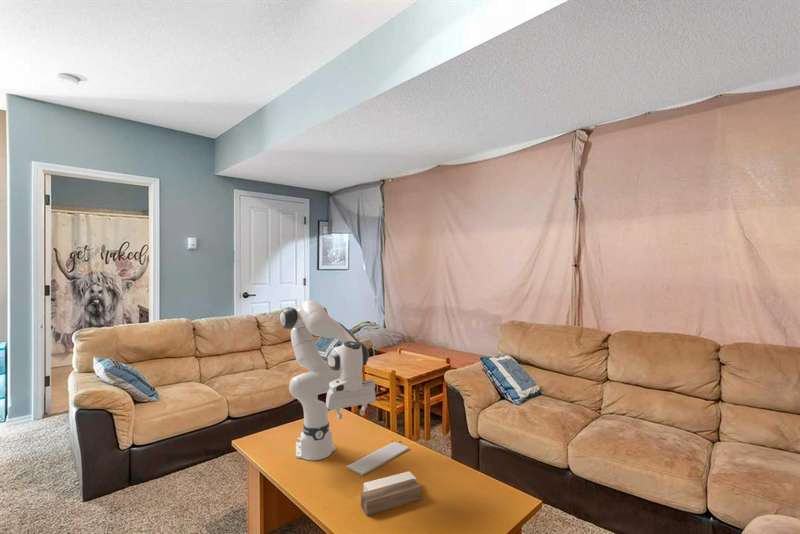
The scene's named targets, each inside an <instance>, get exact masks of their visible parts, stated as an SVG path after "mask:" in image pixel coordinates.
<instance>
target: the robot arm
mask: <svg viewBox="0 0 800 534" xmlns="http://www.w3.org/2000/svg"><path fill="white" fill-rule="evenodd" d="M279 322H280V325H281V326H282V327H283V328H284V329H286V330H290V341H291V345H292V350H293V353H294V356H295V361H296V363H297V364H298V366H299V367H302V368H304V369H306V370H308V372H303V373H302V372H301V373H300V374H298V375H295V376H293V377H292V378H291V379H290V382H289V385H288V390H289V393H290V395H291V396H292V397H293V398H295V399H297V400H298V401H299V402H300V403H301V406H302V409H303V425H302V431H301V433H300V437H296V442H295V458H296V457H297V458H296V459H303V460H306V461H319V460H323V459H326V458H327V457H329V456H331V454H332V453H333V452H334V451H336V449H337V448H336V446H335V445H334V444H333V433H332V431H330V422H329V411H332V410H333V411H335V412H336V414H337V419H338V420H341V419H343V414H342V413H341V412H340V411H341V409H344V408H345V409H346V408H350V407H357V406H361V405H362V408H360V409H359V415H360V416H364V415H365V411H366V410H367V407H368V404H374V403H375V401H376V397H377V396H376V390H375V389H376V382H375V381H374V380H372V379H369V380H363V377H364V376H363V371H362V370H363V367H364V366H365V365H366V364H367V363H368V361H369V358H370V351H369V349H368V347H367V346H366V345H365V344H364V343H363V342H361V341H360V340H359V339H357V338H356V337H355V336H354V335H353V334H352V333H351V331H349V330H348V329H347V327H345V325H343V324H342V323H341V322H339V321H337V320H335V319H334V318H332V317H331V316H330V315H329V314H328V313H327V311H326V310H325V309H324V308H323V306H322V305H321V304H320V303H318V302H317V301H316V300H313V299H309V300H308V299H307V300H306V301H304V302H303V303H301V304H300V305H299V304H298V305H294V306H291V307H290V306H287V307H284V308H283V309H282V310H281V311H280V313H279ZM314 336H315V337H320V338H329V339H330V338H331V339H336V340H338V341H339V342H341V345H340V346H335V347H332V348H330V349H329V351H328V352H327V354H326V361H325V360H324V359H323V358H322V356H321V353H320V351H319V349H318V347H317V344H316V341H315V338H314ZM322 394H326V398H325V402H324V401H322V400H319V398H318V396H319V395H322Z"/></svg>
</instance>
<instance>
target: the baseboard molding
mask: <svg viewBox="0 0 800 534" xmlns="http://www.w3.org/2000/svg"><path fill="white" fill-rule="evenodd" d="M390 441H391V443H390V442H389V444H387V445H384V446H383V447H381V448H379V449H377V450H375V451H373V452H371V453H370V454H369V453H368V455H366V456H363V457H362V458H360V459H357V460H355V461H354V462H352V463H350V464H348V465H346V466H345V468H347V469H348V470H350V471H352V472H354V473H355V474H357V475H360V476H364V475H366V474H368V473H370V472H371V471H373V470H375V469H377V468H378V467H380V466H382V465H384V464H385V463H387V462H389V461H391V460H393V459H394V458H396V457H398V456H400V455H401V454H403V453H404V452H407V451H408V450H410V446H407V445H405V444H403V442H402V441H401V440H399V441H397V440H396V439H395V440H394V438H393V439H392V440H390ZM396 441H397V442H396ZM400 443H401V444H400Z"/></svg>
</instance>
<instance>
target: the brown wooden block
mask: <svg viewBox="0 0 800 534" xmlns="http://www.w3.org/2000/svg"><path fill="white" fill-rule="evenodd" d="M421 492H422V487H421V485H420V483H419V482H417V480H416V481H415V480H414V479H410V480H406V481H403V482H399V483H395V484H392V485H388V486H385V487H381V488H377V489H374V490H370V491H367V492H364V491H363V492H361V493H360V507H361V509H362V511H363V513H364V514H365V515H366V517H368V516H372V515H375V514H378V513H381V512H385V511H389V510H391V509H394V508H397V507H400V506H403V505H406V504H407V505H408V504H411V503H414V502H417V501H420V500H421V497H422V496H421V495H422V493H421Z"/></svg>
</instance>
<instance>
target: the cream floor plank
mask: <svg viewBox="0 0 800 534" xmlns="http://www.w3.org/2000/svg"><path fill="white" fill-rule="evenodd" d="M410 479H414V480H415V481H416V482H417V477H416V476H415V475H414V474H413V473H412V472H411V471H409V470H408V471H405V472H400V473H397V474H396V473H395V474H392V475H389V476H385V477H382V478H378V479H375V480H369V481H366V482H363V492H367V491H370V490H374V489H377V488H381V487H385V486H388V485H392V484H395V483H399V482H403V481H406V480H410Z"/></svg>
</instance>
